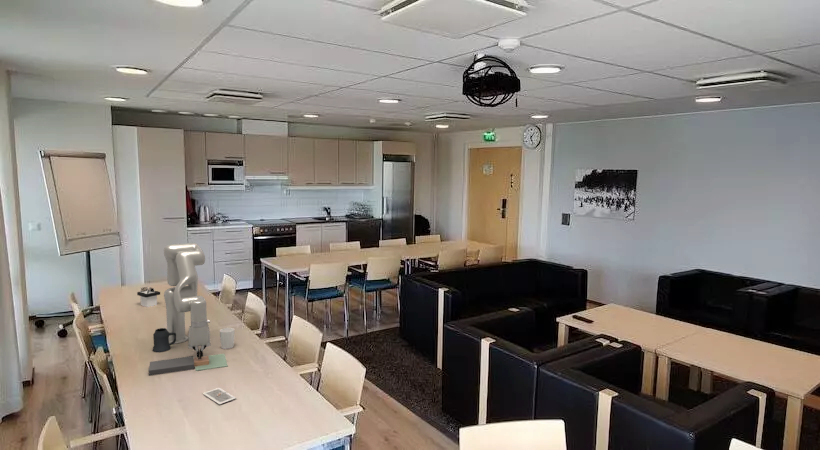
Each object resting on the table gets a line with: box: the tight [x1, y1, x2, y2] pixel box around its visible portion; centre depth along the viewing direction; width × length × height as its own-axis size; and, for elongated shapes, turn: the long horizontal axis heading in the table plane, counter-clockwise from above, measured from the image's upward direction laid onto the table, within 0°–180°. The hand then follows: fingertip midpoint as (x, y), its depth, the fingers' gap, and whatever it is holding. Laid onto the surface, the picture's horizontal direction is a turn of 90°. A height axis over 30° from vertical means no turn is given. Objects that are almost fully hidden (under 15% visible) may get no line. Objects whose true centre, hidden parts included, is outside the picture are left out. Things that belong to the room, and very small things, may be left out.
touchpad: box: [202, 387, 237, 405], centre depth 211 cm, size 8×15×2 cm, turn 50°
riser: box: [148, 355, 195, 376], centre depth 240 cm, size 12×20×2 cm, turn 116°
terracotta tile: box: [193, 355, 209, 368], centre depth 246 cm, size 7×7×2 cm
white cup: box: [219, 327, 235, 350], centre depth 270 cm, size 8×8×10 cm
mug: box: [151, 327, 176, 353], centre depth 265 cm, size 12×9×11 cm
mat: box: [194, 353, 228, 372], centre depth 248 cm, size 18×15×1 cm
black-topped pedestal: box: [136, 286, 161, 308], centre depth 349 cm, size 28×26×13 cm
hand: (199, 358), depth 246 cm, fingers closed
